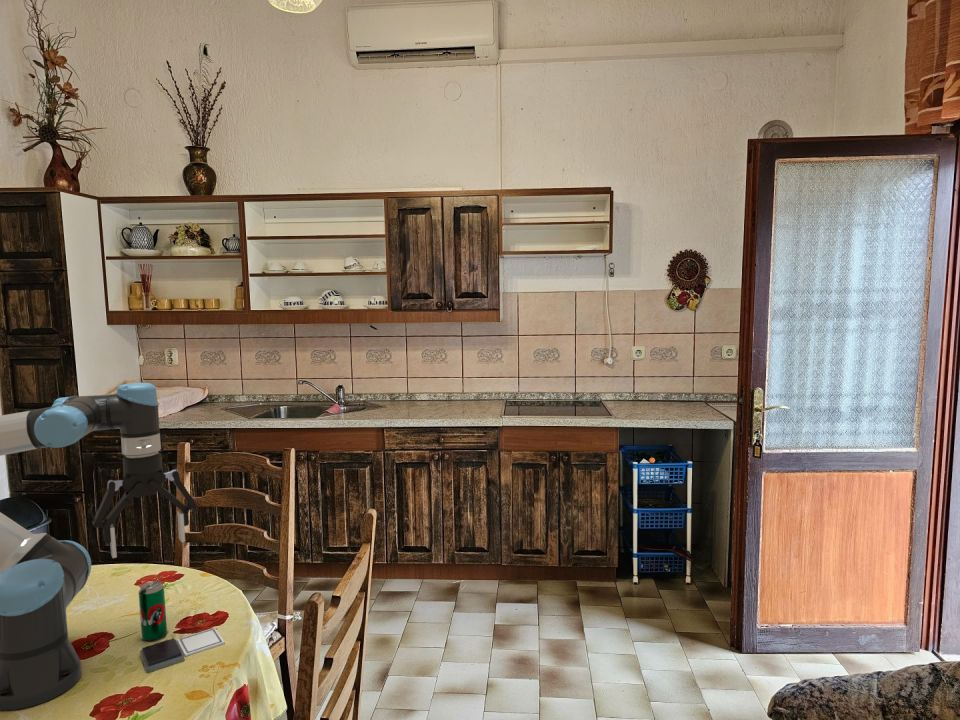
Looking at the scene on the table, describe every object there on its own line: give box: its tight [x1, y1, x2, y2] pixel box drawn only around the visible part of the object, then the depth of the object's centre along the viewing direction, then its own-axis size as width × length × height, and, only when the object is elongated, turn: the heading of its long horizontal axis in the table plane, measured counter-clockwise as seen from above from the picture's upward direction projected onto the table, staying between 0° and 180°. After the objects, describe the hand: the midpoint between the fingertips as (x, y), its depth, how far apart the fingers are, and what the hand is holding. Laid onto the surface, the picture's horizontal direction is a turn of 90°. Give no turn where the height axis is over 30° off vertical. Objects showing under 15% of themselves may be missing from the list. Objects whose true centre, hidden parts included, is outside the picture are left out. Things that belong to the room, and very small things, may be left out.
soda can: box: [137, 580, 168, 642], centre depth 141 cm, size 5×5×12 cm
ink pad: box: [139, 637, 185, 674], centre depth 132 cm, size 7×8×2 cm
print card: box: [176, 627, 226, 658], centre depth 138 cm, size 8×8×1 cm
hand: (149, 548), depth 139 cm, fingers open, 13 cm apart
